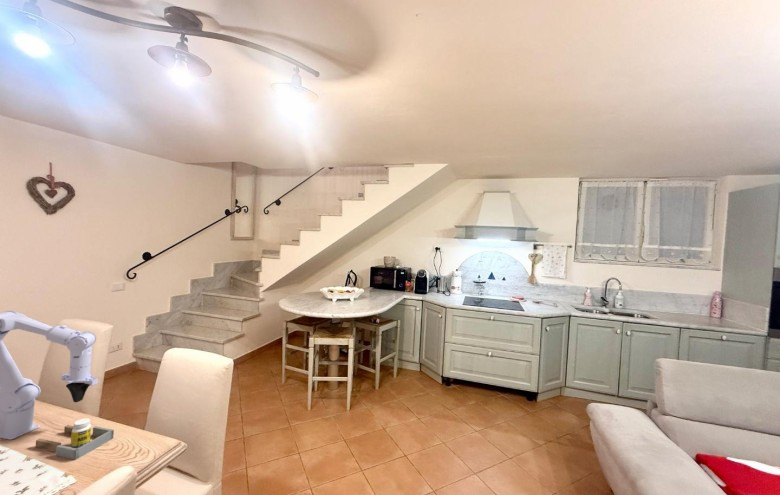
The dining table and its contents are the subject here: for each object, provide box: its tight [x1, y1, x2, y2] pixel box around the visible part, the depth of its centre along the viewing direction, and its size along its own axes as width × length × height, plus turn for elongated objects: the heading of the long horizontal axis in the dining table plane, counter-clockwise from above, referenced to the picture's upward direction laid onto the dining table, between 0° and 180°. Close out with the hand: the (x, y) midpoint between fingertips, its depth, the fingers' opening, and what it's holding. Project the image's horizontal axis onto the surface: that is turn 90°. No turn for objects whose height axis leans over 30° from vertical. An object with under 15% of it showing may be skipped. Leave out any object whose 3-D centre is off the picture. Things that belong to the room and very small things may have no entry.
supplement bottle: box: [70, 417, 92, 449], centre depth 106 cm, size 5×5×8 cm
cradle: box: [55, 425, 115, 461], centre depth 105 cm, size 8×12×3 cm
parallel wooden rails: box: [35, 424, 74, 453], centre depth 107 cm, size 9×9×2 cm
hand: (78, 400), depth 115 cm, fingers closed
